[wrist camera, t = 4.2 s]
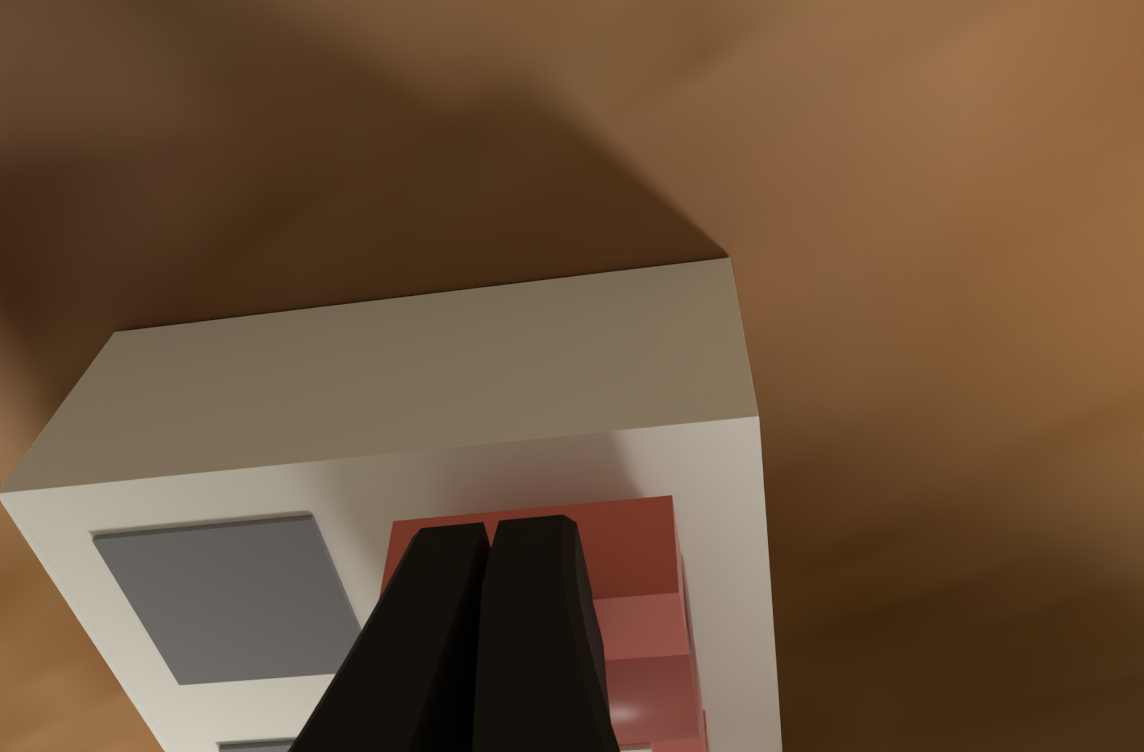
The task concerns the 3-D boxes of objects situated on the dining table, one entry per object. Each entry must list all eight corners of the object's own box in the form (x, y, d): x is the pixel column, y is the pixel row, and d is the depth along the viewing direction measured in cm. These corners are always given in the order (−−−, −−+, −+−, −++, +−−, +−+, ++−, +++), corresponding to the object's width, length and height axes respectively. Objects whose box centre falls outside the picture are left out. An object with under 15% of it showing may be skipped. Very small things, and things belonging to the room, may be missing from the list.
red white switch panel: (774, 798, 21) (798, 982, 18) (361, 821, 22) (321, 998, 19) (730, 257, 14) (760, 421, 11) (114, 331, 15) (-9, 499, 12)
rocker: (698, 655, 13) (711, 807, 12) (476, 671, 14) (462, 819, 12) (669, 466, 11) (681, 629, 9) (398, 492, 11) (369, 653, 10)
